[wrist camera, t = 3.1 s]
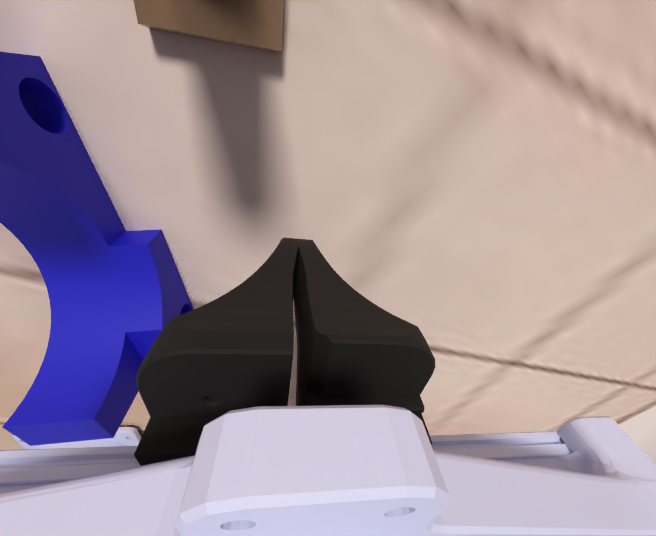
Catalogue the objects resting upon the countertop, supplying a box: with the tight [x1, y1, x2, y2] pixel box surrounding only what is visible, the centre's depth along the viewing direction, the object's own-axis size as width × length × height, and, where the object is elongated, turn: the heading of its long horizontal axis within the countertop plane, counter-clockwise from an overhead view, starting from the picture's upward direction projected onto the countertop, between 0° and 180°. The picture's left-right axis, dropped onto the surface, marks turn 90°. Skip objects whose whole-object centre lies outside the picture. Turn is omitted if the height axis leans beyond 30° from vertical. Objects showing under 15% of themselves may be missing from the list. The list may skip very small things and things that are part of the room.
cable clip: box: [0, 52, 194, 446], centre depth 9 cm, size 12×4×6 cm, turn 0°
